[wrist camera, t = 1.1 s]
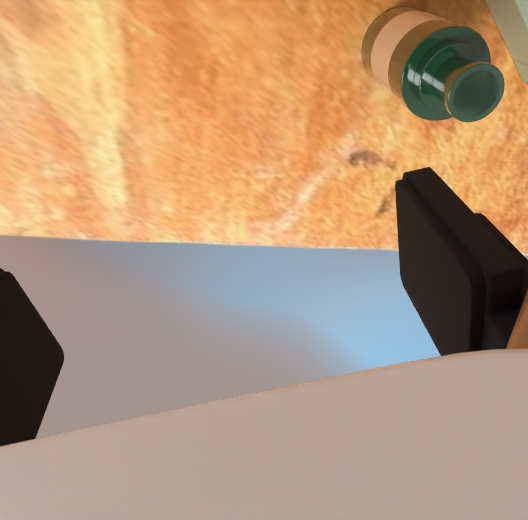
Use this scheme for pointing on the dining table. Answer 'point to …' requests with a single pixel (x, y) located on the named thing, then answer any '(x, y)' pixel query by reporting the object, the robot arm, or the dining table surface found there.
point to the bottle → (432, 65)
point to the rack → (513, 30)
